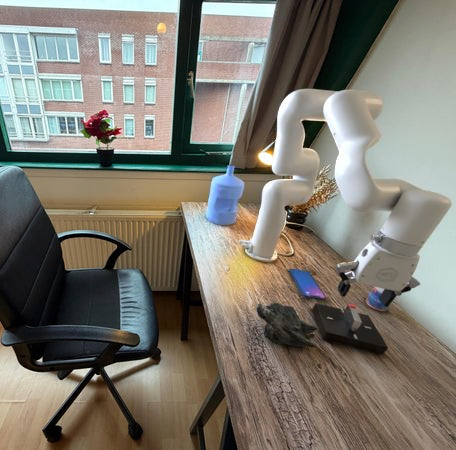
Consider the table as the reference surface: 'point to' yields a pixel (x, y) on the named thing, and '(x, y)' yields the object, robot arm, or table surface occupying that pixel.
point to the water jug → (224, 198)
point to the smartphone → (307, 284)
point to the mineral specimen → (285, 325)
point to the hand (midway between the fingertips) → (361, 297)
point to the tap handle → (352, 318)
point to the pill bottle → (376, 299)
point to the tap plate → (338, 332)
